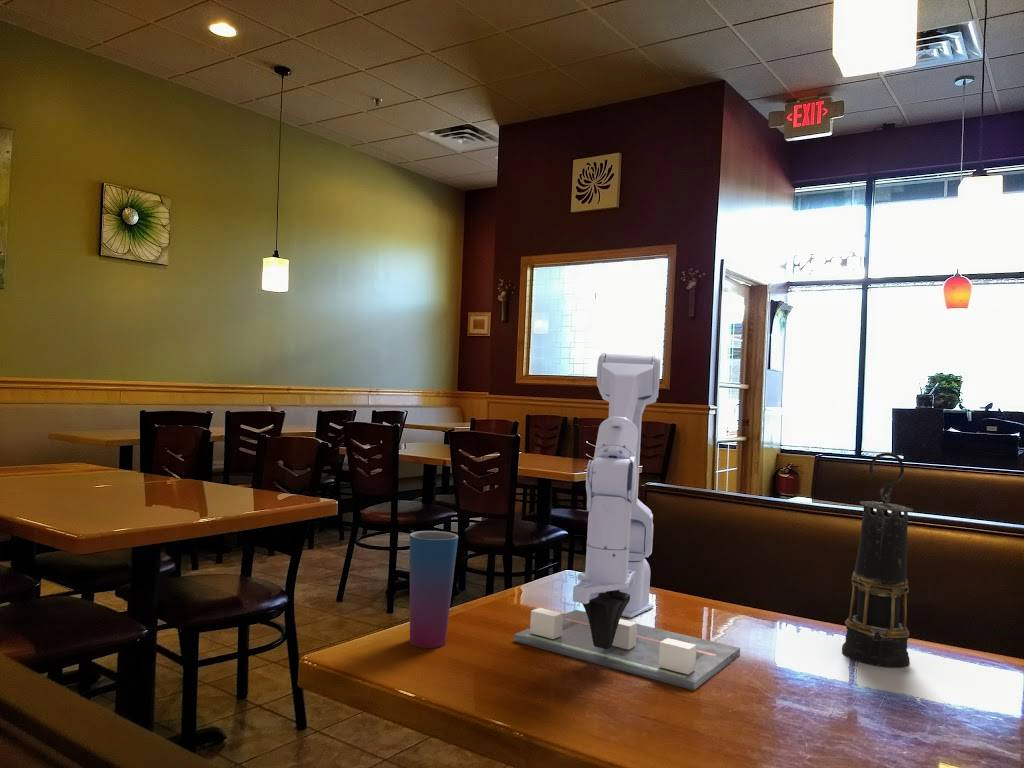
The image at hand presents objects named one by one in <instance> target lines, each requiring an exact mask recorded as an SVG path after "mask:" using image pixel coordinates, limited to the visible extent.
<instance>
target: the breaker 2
mask: <svg viewBox="0 0 1024 768" xmlns="http://www.w3.org/2000/svg"><path fill="white" fill-rule="evenodd" d="M695 664H696V645H695V644H691V643H687V642H682V641H678V640H674V639H670V638H667V639H665V640H663V641H661V642H660V655H659V667H661V668H665V669H669V670H673V671H676V672H680V673H684V674H688V675H689V674H690V673H691V672H693V671H694V670H695Z"/></svg>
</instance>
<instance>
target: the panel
mask: <svg viewBox="0 0 1024 768" xmlns="http://www.w3.org/2000/svg"><path fill="white" fill-rule="evenodd" d="M667 638H670V639H674V640H678V641H682V642H687V643H691V644H695V645H696V664H695V670H694V671H693V672H691V673H690V674H689V675H688V674H684V673H680V672H676V671H673V670H669V669H665V668H661V667H659V655H660V642H661V641H663V640H665V639H667ZM513 642H514V643H519V644H523V645H527V646H531V647H533V648H534V647H535V648H538V649H542V650H545V651H549V652H552V653H556V654H560V655H564V656H567V657H570V658H572V659H573V658H574V659H578V660H582V661H584V662H588V663H592V664H596V665H600V666H603V667H607V668H610V669H615V670H617V671H622V672H626V673H628V674H629V673H630V674H632V675H636V676H640V677H644V678H648V679H650V680H654V681H657V682H662V683H666V684H669V685H673V686H675V687H676V686H677V687H680V688H685V689H687V690H691V691H696V690H697V689H698V688H699V687H701V686H702V685H703V684H705V683H706V682H707V681H709V680H710V679H711V678H712V677H714V676H715V675H716V674H718V672H720V671H721V670H722V669H724V668H725V667H727V666H728V665H729V664H730V663H731V662H733V661H734V660H735V659H737V658H738V657H739V656H740V655H741V647H738V646H734V645H729V644H725V643H721V642H717V641H712V640H709V639H703V638H700V637H694V636H692V635H691V636H690V635H687V634H681V633H678V632H674V631H669V630H664V629H660V628H656V627H653V626H652V627H651V626H647V625H643V624H639V623H637V636H636V646H634V647H633V648H631V649H629V650H628V649H624V648H620V647H616V646H611V648H609V649H602V648H599V647H595V646H594V644H593V640H592V634H591V629H590V624H589V620H588V616H587V613H586V611H583V610H580V609H575V610H571V611H569V612H566V613H563V627H562V636H560V637H557V638H555V639H551V638H547V637H543V636H539V635H535V634H532V633H530V627H529V628H526V629H524V630H521V631H519V632H516V633H514V634H513Z"/></svg>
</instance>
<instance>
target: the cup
mask: <svg viewBox="0 0 1024 768" xmlns="http://www.w3.org/2000/svg"><path fill="white" fill-rule="evenodd" d="M458 540H459V535H458V534H457V533H453V532H448V531H440V530H420V531H419V530H418V531H413V532H411V533H409V643H410V644H411V646H413V647H418V648H421V649H435V648H441V647H443V646H445V645H446V643H447V642H446V641H447V634H448V626H449V617H450V611H451V610H450V609H451V601H452V600H451V599H452V591H453V584H454V575H455V566H456V558H457V550H458V542H459V541H458Z"/></svg>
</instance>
